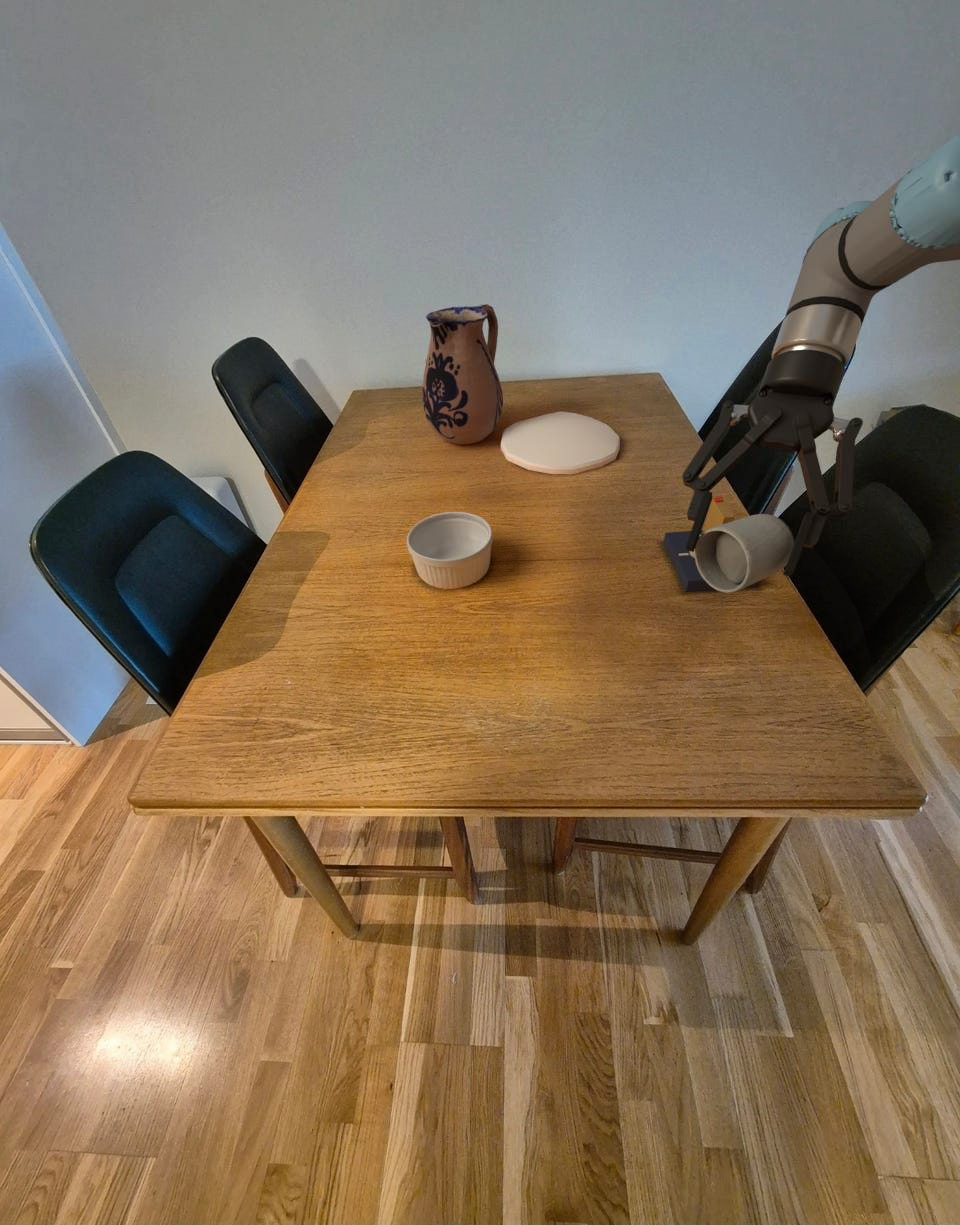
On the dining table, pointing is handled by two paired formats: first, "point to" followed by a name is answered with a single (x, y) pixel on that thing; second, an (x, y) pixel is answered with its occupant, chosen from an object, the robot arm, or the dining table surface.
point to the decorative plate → (560, 443)
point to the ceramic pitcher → (462, 374)
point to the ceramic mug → (743, 551)
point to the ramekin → (451, 549)
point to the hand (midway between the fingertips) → (737, 561)
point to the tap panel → (686, 562)
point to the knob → (717, 514)
